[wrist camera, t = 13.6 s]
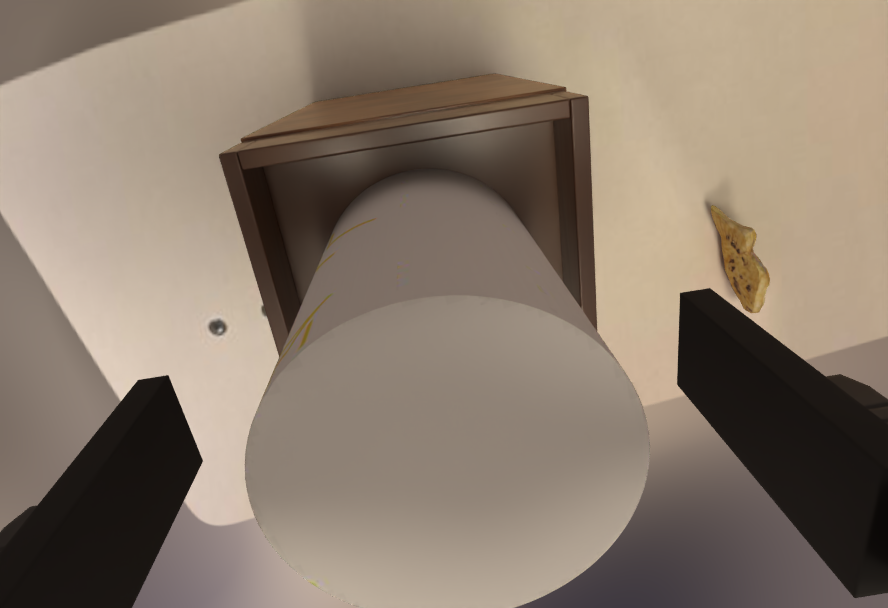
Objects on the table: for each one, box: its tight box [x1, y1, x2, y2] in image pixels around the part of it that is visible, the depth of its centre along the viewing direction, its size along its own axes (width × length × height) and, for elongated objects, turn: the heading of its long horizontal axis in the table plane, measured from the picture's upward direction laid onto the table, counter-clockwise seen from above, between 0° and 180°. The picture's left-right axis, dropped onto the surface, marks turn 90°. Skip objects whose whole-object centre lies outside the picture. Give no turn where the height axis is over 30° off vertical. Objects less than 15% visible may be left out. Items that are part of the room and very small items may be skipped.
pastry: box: [711, 205, 770, 313], centre depth 41 cm, size 9×2×5 cm, turn 26°
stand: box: [241, 74, 566, 142], centre depth 31 cm, size 12×12×18 cm
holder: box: [219, 91, 597, 357], centre depth 22 cm, size 12×12×3 cm
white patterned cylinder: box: [245, 169, 650, 608], centre depth 17 cm, size 8×8×12 cm
